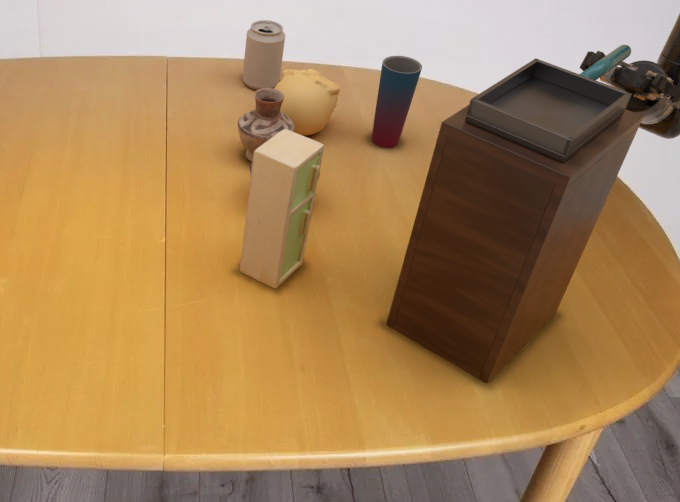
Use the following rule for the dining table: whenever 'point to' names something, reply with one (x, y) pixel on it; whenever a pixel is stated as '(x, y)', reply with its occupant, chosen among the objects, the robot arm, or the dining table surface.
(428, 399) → the dining table surface
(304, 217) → the toy refrigerator
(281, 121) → the pottery
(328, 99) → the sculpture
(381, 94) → the cup
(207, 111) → the dining table surface
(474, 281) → the wooden filing cabinet
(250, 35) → the can
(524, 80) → the grey square pan
